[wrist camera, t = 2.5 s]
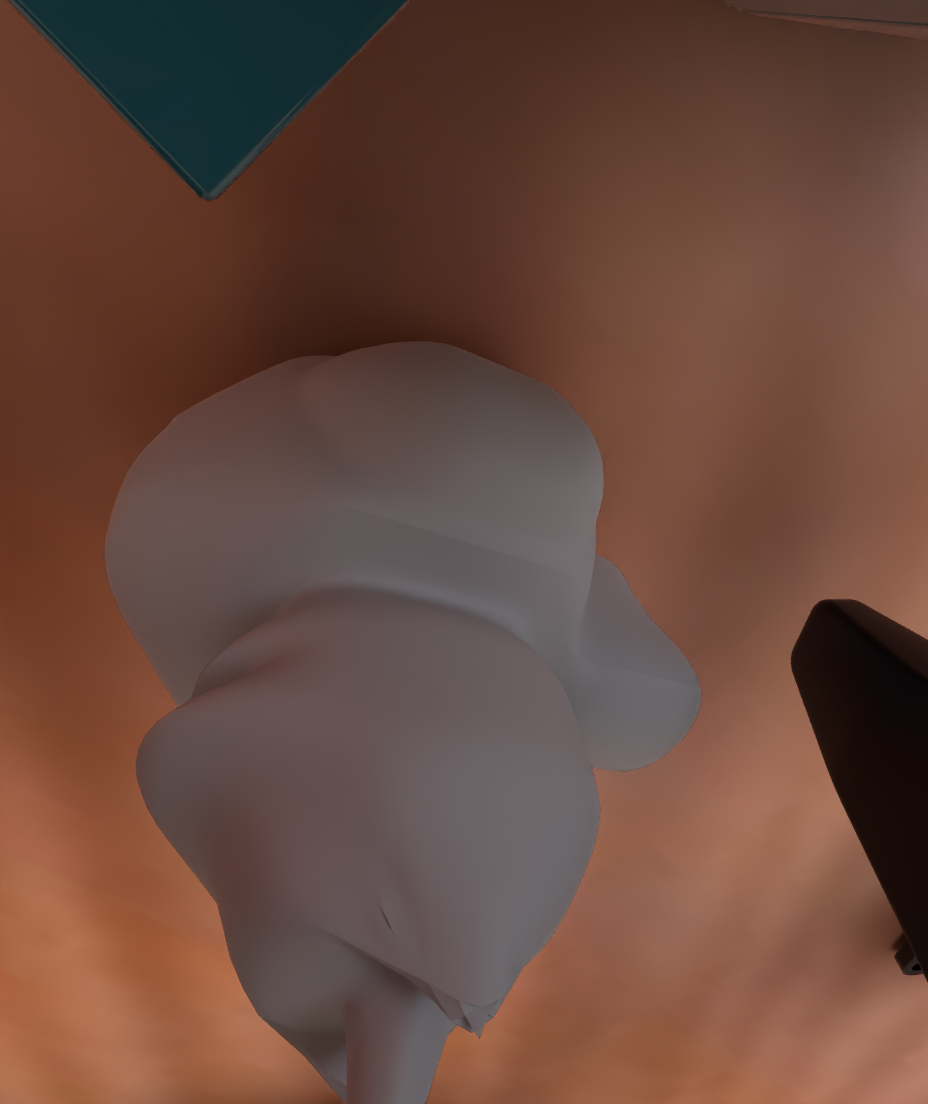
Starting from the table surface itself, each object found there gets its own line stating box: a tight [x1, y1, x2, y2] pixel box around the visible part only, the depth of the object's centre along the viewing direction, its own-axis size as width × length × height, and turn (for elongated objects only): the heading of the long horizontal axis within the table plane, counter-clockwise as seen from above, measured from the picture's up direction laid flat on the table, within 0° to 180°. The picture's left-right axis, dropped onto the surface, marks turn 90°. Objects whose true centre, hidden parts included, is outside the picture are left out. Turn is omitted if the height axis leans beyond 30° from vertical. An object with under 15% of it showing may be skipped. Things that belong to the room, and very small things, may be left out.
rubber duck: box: [104, 341, 701, 1104], centre depth 7 cm, size 5×7×8 cm
